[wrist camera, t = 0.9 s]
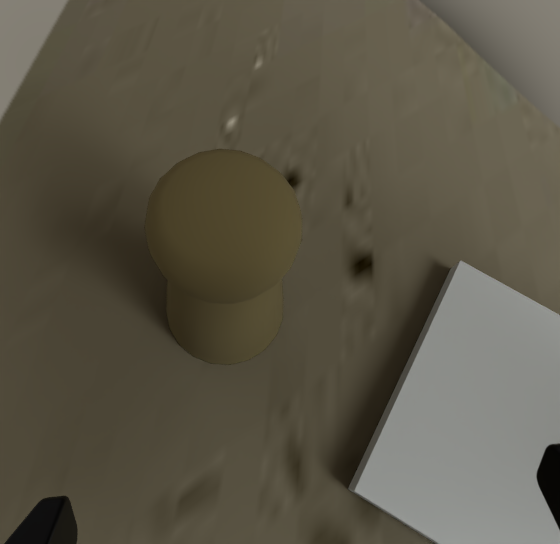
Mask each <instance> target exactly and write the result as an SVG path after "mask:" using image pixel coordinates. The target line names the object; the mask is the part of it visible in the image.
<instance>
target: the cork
mask: <svg viewBox="0 0 560 544" xmlns="http://www.w3.org/2000/svg"><path fill="white" fill-rule="evenodd" d="M144 228H145V233H146V238H147V243H148V248H149V252H150V254H151V256H152V258H153V260H154V261H155V263H156V265H157V266H158V268H159V270H160V271H161V273H162V274H163V276H164V277H165V278H166V279H167V302H166V313H167V318H168V323H169V328H170V330H171V332H172V334H173V335H174V337H175V339H176V340H177V342H178V344H179V345H180V346H181V347H183V348H184V349H185V350H186V351H187V352H189V353H190V354H191V355H192V356H193V357H196V358H198V359H201V360H203V361H206V362H208V363H211V364H226V365H231V364H235V363H239V362H243V361H247V360H250V359H251V358H253V357H254V356H256V355H258V354H259V353H261V352H262V351H264V350H265V349H266V348H267V347H268V345H269V344H270V343H271V342H272V340H273V339H274V338H275V337H276V335H277V333H278V330H279V328H280V325H281V322H282V320H283V286H282V278H283V277H284V275H285V274H286V273H287V272H288V271H289V270H290V268H291V267H292V264H293V261H294V259H295V256H296V254H297V251H298V249H299V246H300V244H301V241H302V214H301V210H300V207H299V204H298V201H297V198H296V195H295V192H294V190H293V189H292V187H291V186H290V185H289V183H288V182H287V180H286V179H285V178H284V176H283V175H282V174H281V173H280V172H279V171H277V170H276V169H275V168H273V167H272V166H270V165H269V164H268V163H266V162H265V161H264V160H262V159H261V158H259V157H256V156H253V155H251V154H248V153H245V152H243V151H237V150H227V149H216V150H210V151H204V152H199V153H197V154H195V155H193V156H191V157H188V158H186V159H184V160H182V161H180V162H179V163H177V164H176V165H175V166H173V167H172V168H171V169H170V170H169V171H168V172H167V173H166V174H165V175H164V176H163V177H161V178H160V180H159V181H158V183H157V185H156V187H155V189H154V190H153V192H152V194H151V196H150V198H149V202H148V208H147V214H146V220H145V227H144Z"/></svg>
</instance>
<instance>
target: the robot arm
mask: <svg viewBox="0 0 560 544" xmlns="http://www.w3.org/2000/svg"><path fill="white" fill-rule="evenodd" d="M536 477H537V482H538V485H539V488H540V490H541V492H542V494H543V496H544V498H545V501H546V503H547V505H548V507H549V509H550V511H551V513H552V515H553V517H554V520H555V522H556V524H557V526H558V528H559V530H560V443H557V444H550V445H548V446H547V447H546V449H545V451H544V454H543V457H542V459H541V462H540V464H539V467H538V470H537V474H536ZM76 543H77V524H76V520H75V517H74V513H73V510H72V506H71V503H70V500H69V498H68V497H67V496H57V497H48V498H44V499H42V500H41V501H40V502H39V503H38V504H37V505H36V506H35V507H34V508H33V510H32V511H31V512H30V513H29V514H28V516H27V517H26V518H25V519H24V520H23V522H22V523H21V524H20V525H19V526H18V528H17V529H16V530H15V531H14V532H13V534H12V535H11V536H10V537H9V538H8V540H7V541H6V542H5V543H4V544H76Z"/></svg>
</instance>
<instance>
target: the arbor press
mask: <svg viewBox="0 0 560 544" xmlns="http://www.w3.org/2000/svg"><path fill="white" fill-rule="evenodd" d="M557 443H560V315H558V314H557V313H555V312H553V311H551V310H549V309H548V308H546V307H544V306H542V305H540V304H539V303H537V302H535V301H533V300H531V299H530V298H528V297H526V296H524V295H522V294H521V293H519V292H517V291H515V290H513V289H511V288H510V287H508V286H506V285H504V284H502V283H501V282H499V281H497V280H495V279H493V278H492V277H490V276H488V275H486V274H484V273H483V272H481V271H479V270H477V269H475V268H474V267H472V266H470V265H468V264H466V263H464V262H463V261H461V260H460V261H459V262H458V263H457V264H456V265H454V266H453V267H452V268H451V269H450V271H449V273H448V276H447V278H446V280H445V282H444V284H443V286H442V288H441V291H440V293H439V295H438V297H437V299H436V301H435V303H434V306H433V308H432V310H431V312H430V314H429V316H428V318H427V321H426V323H425V325H424V327H423V329H422V331H421V333H420V336H419V338H418V340H417V342H416V344H415V346H414V348H413V351H412V353H411V355H410V357H409V359H408V361H407V363H406V366H405V368H404V370H403V372H402V374H401V376H400V378H399V381H398V383H397V385H396V387H395V389H394V391H393V393H392V396H391V398H390V400H389V402H388V404H387V406H386V408H385V410H384V413H383V415H382V417H381V419H380V421H379V423H378V425H377V428H376V430H375V432H374V434H373V436H372V438H371V440H370V443H369V445H368V447H367V449H366V451H365V453H364V455H363V458H362V460H361V462H360V464H359V466H358V468H357V470H356V473H355V475H354V477H353V479H352V481H351V483H350V485H349V488H348V490H350V491H352V492H353V493H355V494H356V495H358V496H360V497H361V498H363V499H365V500H366V501H368V502H369V503H371V504H373V505H374V506H376V507H377V508H379V509H381V510H382V511H384V512H385V513H387V514H389V515H390V516H392V517H394V518H395V519H397V520H398V521H400V522H402V523H403V524H405V525H406V526H408V527H410V528H411V529H413V530H415V531H416V532H418V533H419V534H421V535H423V536H424V537H426V538H427V539H429V540H431V541H432V542H434V543H435V544H560V530H559V528H558V526H557V524H556V522H555V520H554V517H553V515H552V513H551V511H550V509H549V507H548V505H547V503H546V501H545V498H544V496H543V494H542V492H541V490H540V488H539V485H538V482H537V477H536V474H537V470H538V467H539V464H540V462H541V459H542V457H543V454H544V451H545V449H546V447H547V446H548V445H550V444H557Z"/></svg>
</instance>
